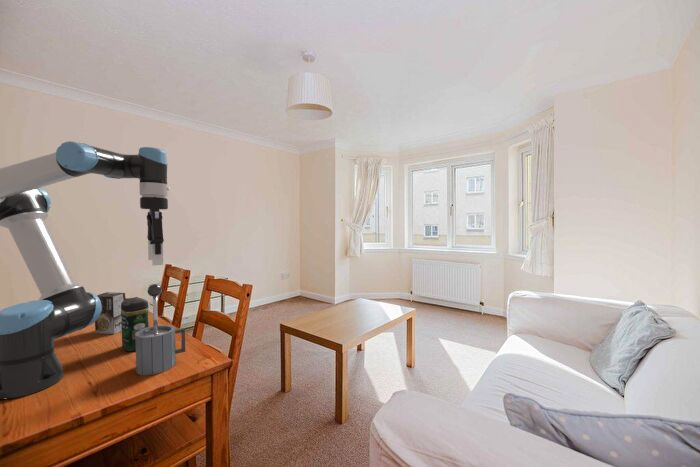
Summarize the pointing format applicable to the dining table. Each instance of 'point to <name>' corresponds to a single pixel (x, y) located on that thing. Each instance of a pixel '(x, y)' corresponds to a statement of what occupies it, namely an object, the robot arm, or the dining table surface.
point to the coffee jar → (133, 320)
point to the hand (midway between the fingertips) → (155, 262)
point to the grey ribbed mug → (157, 350)
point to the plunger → (155, 310)
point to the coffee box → (110, 313)
